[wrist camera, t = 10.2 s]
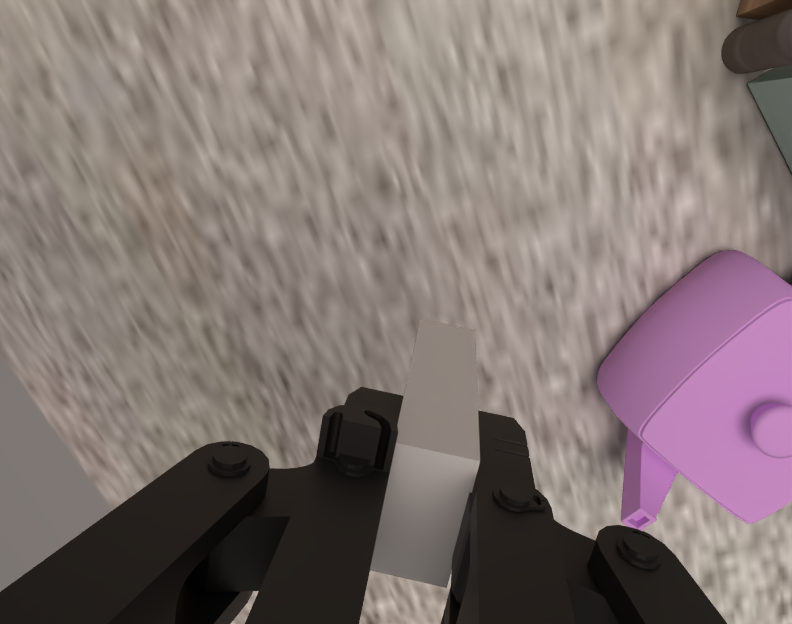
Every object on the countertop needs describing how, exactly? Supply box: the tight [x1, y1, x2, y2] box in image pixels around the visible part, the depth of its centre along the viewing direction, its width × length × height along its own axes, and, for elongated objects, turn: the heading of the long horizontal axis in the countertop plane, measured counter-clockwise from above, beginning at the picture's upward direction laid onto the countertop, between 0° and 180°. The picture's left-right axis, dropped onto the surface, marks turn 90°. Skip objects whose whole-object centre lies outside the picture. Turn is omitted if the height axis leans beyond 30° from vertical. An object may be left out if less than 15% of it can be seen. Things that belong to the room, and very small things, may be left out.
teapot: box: [597, 250, 792, 530], centre depth 34 cm, size 18×10×10 cm, turn 142°
